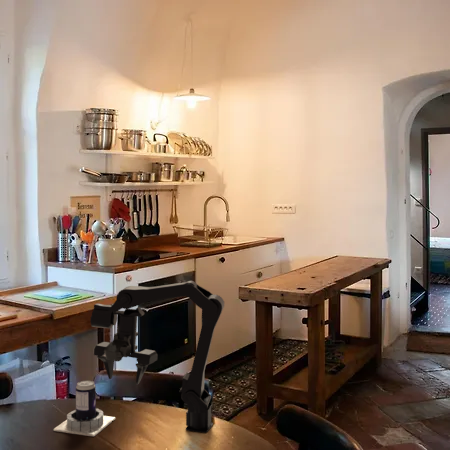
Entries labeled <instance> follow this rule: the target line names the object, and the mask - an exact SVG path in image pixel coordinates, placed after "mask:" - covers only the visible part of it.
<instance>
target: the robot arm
mask: <svg viewBox="0 0 450 450" xmlns="http://www.w3.org/2000/svg"><path fill="white" fill-rule="evenodd" d="M182 297H186V298H189V300H191V301H192V302H193V303H194V305H196V306H197V307H198V308H199V309H201V330H200V332H199V337H198V340H197V345H196V349H195V350H196V351H195V354H194V356H193V357H194V358H193V362H192V366H191V370H190V373H189V372H186V373H185V374H184V376H183V378H182V384H181V387H180V390H179V393H180V394H181V395H180V397H181V400H182V401H183V402H184V403H183V404H186V406H187V410H186V413H185V419H186V420H185V421H186V422H185V425H186V427H185V431H189V432H195V433H196V432H197V433H204V434H205V433H208V432H209V431H210V430H211V428H212V427H213V425H214V423H213V422H212V406H211V405H209V403H210V401H211V399H212V395H211V394H210V393H209V392H208V391H207V390H206V389H205V370H206V367H207V363H208V357H209V353H210V351H211V345H212V342H213V337H214V333H215V329H216V326H217V324H218V321H219V320H220V317H221V315H222V312H223V311H224V308H225V300H224V299H223V297H222V296H221V295H218V294H213V293H212V292H211V291H209V290H207V289H206V288H204V287H202V286H201V285H200V284H197V283H196V282H195V281H193V280H188V281H185V282H179V283H178V282H177V283H172V284H165V285H158V286H140V285H129V286H125V287H124V288H123V289H121V290H119V292H118V293H117V295H116V297H115V298H116V300H115V301H114V302H113V303H112V304H111V305H110V304H109V305H108V304H102V303H95V304H94V305H93V310H92V312H91V316H90V319H89V320H90V326H91V327H94V328H103V329H112V328H113V327H114V326H116V333H114V334H113V338H112V341H111V342H109V341H102V342H100V343H98V344H95V346H94V347H93V351H92V353H93V355H94V356H96V357H97V359H100V361H102V362H103V365H104V367H105V371H106V373H107V378H108V379H109V380H111V379H112V378H113V374H114V367H115V362H121V361H122V360H123V358H133V359H136V362H137V363H135V367H136V375H135V376H136V378H135V384H136V385H137V386H138V385H139V384H140V382H141V380H142V378H143V376H144V374H145V373H146V370H147V368H148V366H149V365H151V364H154V363H155V362H156V361H158V356H159V355H158V353H157V351H156V350H152V349H147V348H145V349H143V350H141V351H136V350H138V345H137V344H136V342H137V337H138V336H139V332H138V331H137V323H138V317H142V316H144V315H145V311H143V310H142V309H141V307H140V305H143V304H146V303H149V302H154V301H161V300H167V299H174V298H175V299H176V298H182ZM133 307H134V308H133ZM135 307H136V308H135ZM122 309H124V310H122Z"/></svg>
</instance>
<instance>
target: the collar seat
mask: <svg viewBox="0 0 450 450" xmlns="http://www.w3.org/2000/svg"><path fill="white" fill-rule="evenodd" d="M115 420H116V417H115V416H108V415H104V411H103V410H102V409H99V408H96V418H93V419H89V420H76V409H74V410H72V411H70V412H69V413H66V420H64V421H62V422H61V423H60V424H59V425H57V426H56V427H54V428H53V431H54V432H58V433H59V432H60V433H67V434H73V435H80V436H88V437H95V436H97V435H98V434H99V433H100V432H101V431H103V430H104V429H105V428H106V427H108V426H109V425H110V424H111V423H113V422H114V421H115ZM112 421H113V422H112Z"/></svg>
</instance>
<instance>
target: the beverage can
mask: <svg viewBox="0 0 450 450" xmlns="http://www.w3.org/2000/svg"><path fill="white" fill-rule="evenodd" d="M96 388H97V387H96V385H95V381H93V380H82V381H79V382H77V383H76V386H75V410H76V420H89V419H93V418H96V409H97V405H96V403H97V401H96V400H97V399H96V398H97V397H96V394H97V393H96V391H97V389H96Z"/></svg>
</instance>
